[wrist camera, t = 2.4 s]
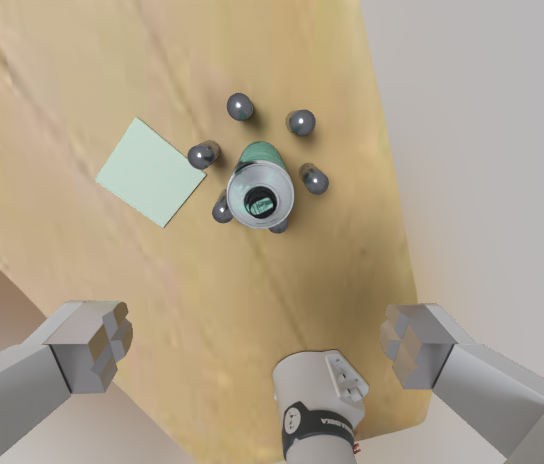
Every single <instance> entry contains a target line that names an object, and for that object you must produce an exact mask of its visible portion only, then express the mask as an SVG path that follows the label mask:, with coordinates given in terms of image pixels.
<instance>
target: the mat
mask: <svg viewBox="0 0 544 464" xmlns="http://www.w3.org/2000/svg"><path fill="white" fill-rule="evenodd" d="M205 176H206V173H205V172H203V171H202V170H199V169H196V168H194V167H192V166H191V164H190V163H189V161H188V158H186V157H185V156H184V155H183V154H182V153H180V152H179V151H178V150H177V149H176V148H174V147H173V146H172V145H171V144H170V143H168V142H167V141H166V140H165V139H164V138H162V137H161V136H160V135H159V134H158V133H156V132H155V131H154V130H153V129H151V128H150V127H149V126H148V125H147V124H145V123H144V122H143V121H142V120H141V119H139V118H138V117H135V119H134V121H133V122H132V124H131V125H130V127H129V128H128V130H127V131H126V133H125V134H124V136H123V137H122V139H121V140H120V142H119V143H118V145H117V147H116V148H115V150H114V151H113V153H112V154H111V156H110V157H109V159H108V160H107V162H106V163H105V165H104V166H103V168H102V169H101V171H100V173H99V174H98V176H97V177H96V179H95V181H96V182H98V183H99V184H101V185H102V186H104V187H105V188H106V189H108V190H109V191H111V192H112V193H113V194H115V195H116V196H118V197H119V198H121V199H122V200H123V201H125V202H126V203H128V204H129V205H131V206H132V207H133V208H135V209H136V210H138V211H139V212H141V213H142V214H143V215H145V216H146V217H148V218H149V219H151V220H152V221H153V222H155V223H156V224H158V225H159V226H161V227H162V228H163V227H164V226H165V225H166V223H167V222H168V221H169V220H170V219H171V217H172V216H173V215H174V214H175V212H176V211H177V210H178V209H179V207H180V206H181V205H182V204H183V203H184V201H185V200H186V199H187V198H188V196H189V195H190V194H191V193H192V192H193V190H194V189H195V188H196V187H197V185H198V184H199V183H200V182H201V180H202V179H203V178H204V177H205Z"/></svg>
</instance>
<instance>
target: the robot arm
mask: <svg viewBox="0 0 544 464" xmlns="http://www.w3.org/2000/svg"><path fill="white" fill-rule="evenodd" d="M127 314H128V308H127V305H126V303H124V302H117V301H75V300H71V301H68V302H65V303H64V304H63V305H62V306H61V307H60V308H59V309H58V310H56V311H55V312H54V313H53V314H52V315H51V316H50V317H49V318H48V319H47V320H46V321H45V322H44V323H43V324H42V325H41V326H40V327H39V328H38V329H37V330H35V331H34V332H33V333H32V334H31V335H30V336H29V337H28V338H27V339H26V340H25V341H24V342H23V343H22V344H21V345H13V346H11V347H9V348H7V349H5V350H3V351H1V352H0V456H1V455H2V454H3V453H5V452H6V451H7V450H8V449H9V448H11V447H12V446H13V445H14V444H15V443H16V442H18V441H19V440H20V439H21V438H22V437H23V436H25V435H26V434H27V433H28V432H29V431H31V430H32V429H33V428H34V427H35V426H36V425H37V424H39V423H40V422H41V421H42V420H43V419H45V418H46V417H47V416H48V415H50V414H51V413H52V412H53V411H54V410H55V409H57V408H58V407H59V406H60V405H61V404H62V403H64V402H65V401H66V400H67V399H68V398H70V397H71V394H85V393H86V394H87V393H105V392H106V390H107V388H108V386H109V384H110V383H111V381H112V379H113V377H114V376H115V374H116V372H117V370H118V369H117V365H116V363H117V362H118V361H119V360H121V359H122V358H123V357H125V356H126V354H127V352H128V350H129V348H130V346H131V342H132V338H133V328H132V324H131V323H130V322H129V321H128V320H127V319H126V318H125V317H126V315H127ZM385 315H386V317H387V320H386V321H384V322H383V323H382V324H381V327H380V331H379V335H380V343H381V346H382V349H383V351H384V353H385V355H386V356H387V357H389V358H390V359H391V360H393V361H394V363H393V367H392V368H393V370H394V372H395V374H396V376H397V378H398V380H399V382H400V383H401V385H402V387H403V389H426V390H432V391H433V392H434V393H435V394H436V395H437V396H438V397H439V398H440V399H442V400H443V401H444V402H445V403H446V404H447V405H448V406H449V407H450V408H451V409H452V410H454V411H455V412H456V413H457V414H458V415H459V416H460V417H461V418H462V419H464V420H465V421H466V422H467V423H468V424H469V425H470V426H471V427H472V428H474V429H475V430H476V431H477V432H478V433H479V434H480V435H481V436H482V437H483V438H485V439H486V440H487V441H488V442H489V443H490V444H491V445H492V446H494V447H495V448H496V449H497V450H498V451H499V452H500V453H501V454H503V455H504V456H505V457H506V458H507V460H506V461H505V462H504V464H544V377H542V376H540V375H538V374H536V373H534V372H533V371H531V370H529V369H527V368H525V367H524V366H522V365H520V364H518V363H516V362H514V361H513V360H511V359H509V358H507V357H505V356H503V355H502V354H500V353H498V352H496V351H494V350H493V349H491V348H489V347H487V346H485V345H484V344H477V343H476V342H475V341H474V340H473V339H472V337H470V335H469V334H468V333H467V332H466V331H465V330H464V329H463V328H462V327H461V326H460V325H459V324H458V323H457V322H456V321H455V320H454V319H453V318H452V317H451V316H450V315H449V314H448V312H447V311H446V310H445V309H444V308H443V307H442V306H440V305H438V304H436V303H432V304H431V303H430V304H429V303H428V304H389V305H388V306H387V307H386V310H385ZM272 379H273V383H274V387H275V389H274V399H275V400H276V401H277V405H278V412H279V418H280V424H281V430H282V449H283V454H284V459H285V460H286V462H287V464H357V463H356V460H355V456H354V454H356V453H357V452H359V451H361V450H356V451H354V450H355V449H356V448H357V447H358V446H359V444H355V445H354V434H353V430H354V429H355V428H356V426H357V425H358V424H359V423H360V422H361V420H362V419H363V417H364V415H365V407H364V404H363V401H362V399H363V398H364V397H365V396H366V394H367V393H368V391H369V385H368V383H367V382H366V381H365V380H364V379H363V378H362V377H361V375H360V374H359V373H358V372H357V371H356V370H355V369H354V368H353V366H352V365H351V364H350V363H349V362H348V361H347V360H346V359H345V357H344V356H343V355H342V354H341V353H340V352H339V351H338V350H330V351H325V352H300V353H296V354H293V355H291V356H288V357H286V358H285V359H283V360H282V361H281V362H279V363H278V365H277V366H276V367H275V369H274V371H273V374H272Z"/></svg>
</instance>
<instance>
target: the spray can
mask: <svg viewBox="0 0 544 464" xmlns="http://www.w3.org/2000/svg"><path fill="white" fill-rule="evenodd" d="M293 202H294V187H293V183H292V181H291V179H290V177H289V175H288V173H287V170H286V168H285V166H284V164H283V162H282V160H281V158H280V156H279V154H278V152H277V150H276V149H275V148H274V147H273V146H272V145H271V144H269V143H267V142H263V141H257V142H253V143H251V144H250V145H248V146H247V147H246V148H245V149H244V151H243V153H242V155H241V157H240V159H239V161H238V163H237V165H236V168H235V170H234V172H233V174H232V176H231V178H230V180H229V182H228V186H227V203H228V206H229V209H230V211H231V213H232V214H233V216H234V217H235V218H236V219H237V220H238V221H239V222H241V223H242V224H244V225H246V226H248V227H251V228H256V229H265V228H270V227H273V226H275V225H277V224H279V223H280V222H282V221H283V220H284V219H285V218H286V217H287V216H288V214H289V213H290V211H291V209H292V206H293Z"/></svg>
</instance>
